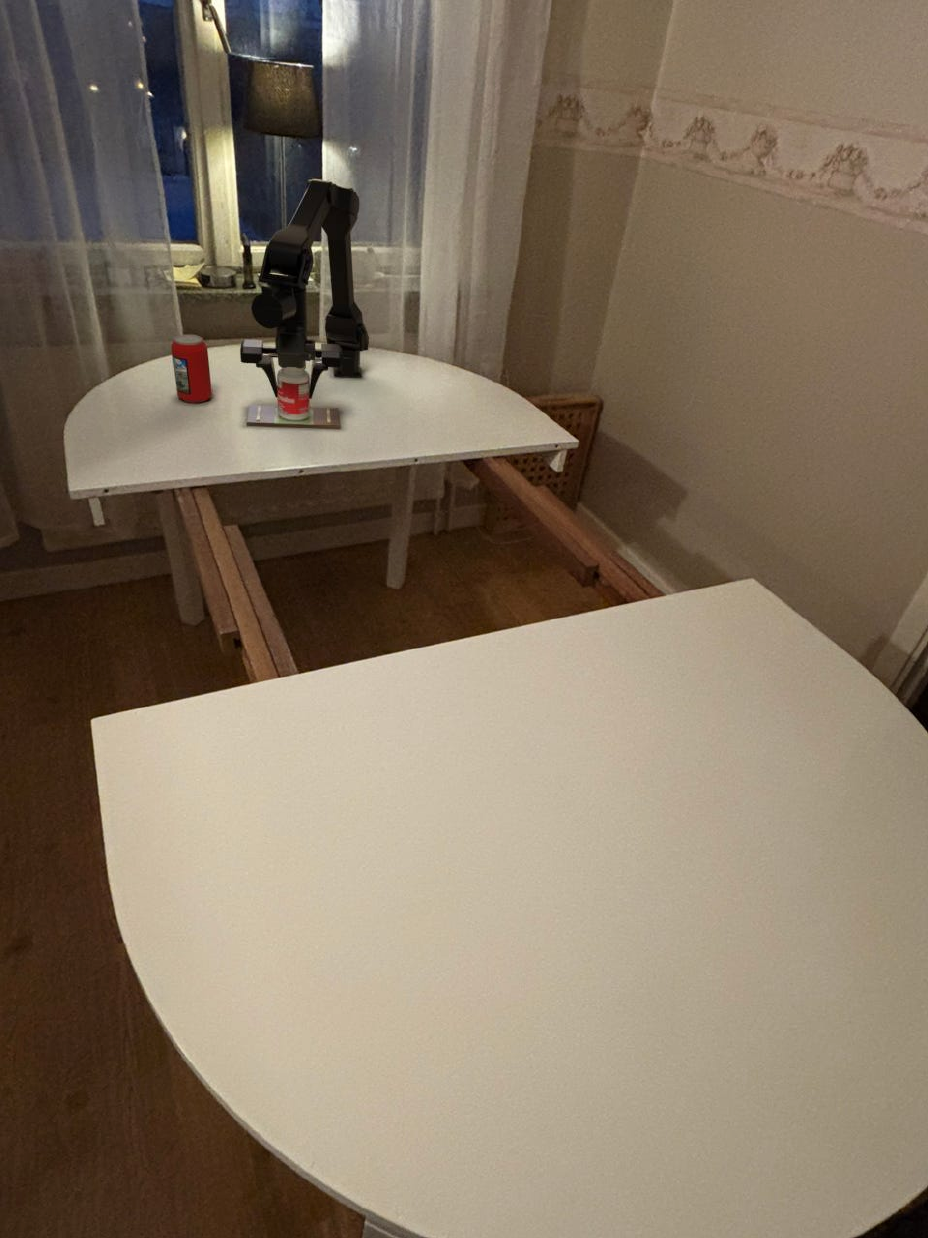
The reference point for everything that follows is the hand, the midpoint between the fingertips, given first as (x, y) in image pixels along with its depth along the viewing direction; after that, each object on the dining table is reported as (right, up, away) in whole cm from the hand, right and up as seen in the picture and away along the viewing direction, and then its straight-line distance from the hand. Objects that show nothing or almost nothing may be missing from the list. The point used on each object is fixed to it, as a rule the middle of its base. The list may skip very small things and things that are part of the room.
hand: (293, 397), depth 145 cm
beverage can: (-22, +2, +7) cm, 23 cm away
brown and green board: (-1, -3, +3) cm, 5 cm away
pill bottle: (0, -3, +2) cm, 4 cm away
